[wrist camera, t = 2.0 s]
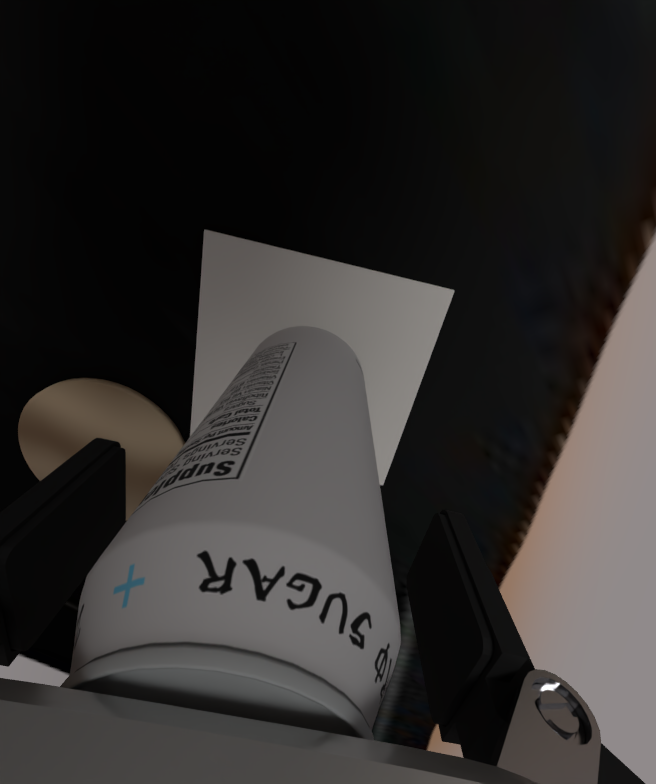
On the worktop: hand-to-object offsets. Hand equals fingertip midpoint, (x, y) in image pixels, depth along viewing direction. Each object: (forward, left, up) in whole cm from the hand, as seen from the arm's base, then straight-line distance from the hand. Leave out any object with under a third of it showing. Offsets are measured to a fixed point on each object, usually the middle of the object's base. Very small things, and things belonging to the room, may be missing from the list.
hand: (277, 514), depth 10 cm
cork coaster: (+7, -11, -10) cm, 17 cm away
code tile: (-1, 0, -10) cm, 10 cm away
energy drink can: (-1, 0, -10) cm, 10 cm away
